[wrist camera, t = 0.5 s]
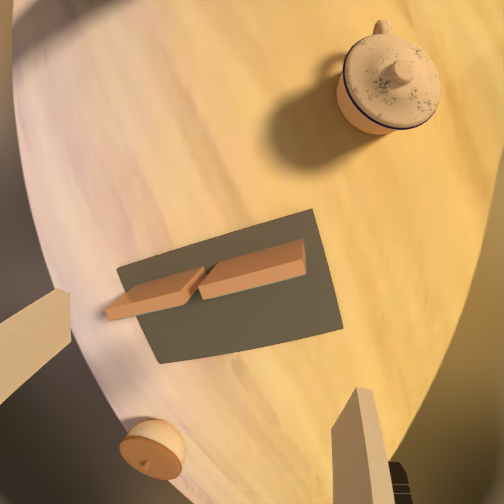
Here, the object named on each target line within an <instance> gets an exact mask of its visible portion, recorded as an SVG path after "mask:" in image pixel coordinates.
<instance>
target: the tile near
mask: <svg viewBox="0 0 504 504" xmlns="http://www.w3.org/2000/svg"><path fill="white" fill-rule="evenodd" d="M304 274H306V250H305V247H304V243H303V240H302V239H299V240H295V241H292V242H288V243H284V244H281V245H277V246H274V247H270V248H266V249H263V250H259V251H256V252H252V253H249V254H245V255H241V256H238V257H234V258H231V259H227V260H224V261H220V262H218V263H217V264H216V266H215V267H214V268H213V269H212V270H211V272H210V273H209V274H208V275H207V276H206V278H205V279H204V280H203V281H202V282H201V284H200V285H199V286H198V288H199V291H200V293H201V296H202V298H203V300H205V299H212V298H216V297H220V296H224V295H228V294H232V293H236V292H240V291H244V290H249V289H253V288H256V287H260V286H264V285H268V284H272V283H276V282H280V281H284V280H288V279H292V278H295V277H299V276H302V275H304Z"/></svg>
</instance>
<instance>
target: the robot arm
mask: <svg viewBox="0 0 504 504" xmlns="http://www.w3.org/2000/svg"><path fill="white" fill-rule="evenodd" d="M70 342H71V329H70V294H69V293H67V292H65V291H63V290H61V289H59V288H57V289H55V290H54V291H52V292H51V293H49V294H47V295H46V296H44V297H42V298H41V299H39V300H37V301H36V302H34V303H33V304H31V305H29V306H27V307H26V308H24V309H23V310H21V311H19V312H18V313H16V314H15V315H13V316H12V317H10V318H8V319H7V320H5V321H4V322H2V323H1V324H0V404H1V403H2V402H3V401H4V400H6V399H7V398H8V397H9V396H10V395H11V394H12V393H13V392H14V391H15V390H16V389H18V388H19V387H20V386H21V385H22V384H23V383H24V382H25V381H26V380H28V379H29V378H30V377H31V376H32V375H33V374H34V373H35V372H37V371H38V370H39V369H40V368H41V367H42V366H43V365H45V364H46V363H47V362H48V361H49V360H50V359H51V358H52V357H54V356H55V355H56V354H57V353H58V352H59V351H61V350H62V349H63V348H64V347H65V346H66V345H68V344H69V343H70ZM331 436H332V463H333V504H413V503H412V498H411V495H410V488H409V486H408V479H407V474H406V472H405V470H404V469H403V467H402V466H401V464H400V463H399V462H388V460H387V455H386V450H385V445H384V440H383V435H382V430H381V425H380V421H379V416H378V412H377V407H376V403H375V399H374V395H373V390H371V389H365V388H360V387H356V388H355V390H354V392H353V393H352V395H351V397H350V399H349V400H348V402H347V404H346V406H345V407H344V409H343V411H342V412H341V414H340V416H339V417H338V419H337V421H336V422H335V424H334V425H333V427H332V429H331Z"/></svg>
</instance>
